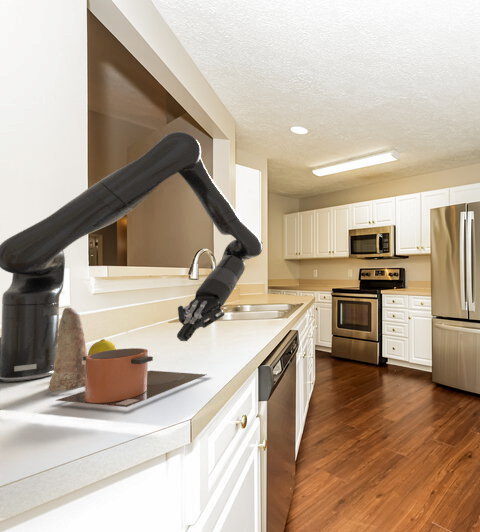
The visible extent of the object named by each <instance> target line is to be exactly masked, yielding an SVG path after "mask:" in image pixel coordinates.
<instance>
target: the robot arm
mask: <svg viewBox="0 0 480 532" xmlns="http://www.w3.org/2000/svg"><path fill="white" fill-rule="evenodd" d="M201 156H202V148H201V145H200V143H199V141H198V140H197V138H196V137H194V136H193V135H192V134H190V133H188V132H184V131H172V132H169V133H168V134H166V135H165V136H163V137H162V139H160V140H159V141H158V142H157V143H156V144H155V145H153V147H151V148H150V149H148V151H146V152H145V153H143V154H142V155H141V156H140V157H138V158H137V159H135V160H133V161H132V162H129V163H127V164H126V165H124V166H122V167H120V168H118V169H117V170H115V171H113V172H111V173H110V174H108V175H107V176H105V177H103V178H101V179H100V180H98V181H97V182H96V183H94V184H93V185H91V186H90V187H88V188H87V189H86V190H84V191H83V192H81V193H80V194H79V195H77V196H76V197H74V198H73V199H71V200H70V201H68V202H67V203H65V204H64V205H63V206H61V207H59V209H57V210H56V211H55V212H53V213H51V214H50V215H49V216H47V217H45V218H43V219H42V220H40V221H38V222H36V223H34V224H33V225H31V226H29V227H27V228H25V229H23V230H21V231H19V232H17V233H15V234H13V235H12V236H10V237H8V238H7V239H5V240H4V241H3V242H1V243H0V269H1V270H3V271H5V272H7V273H9V274H12V278H11V279H12V280H11V284H10V286H9V287H8V288H7V289H6V290H5V291H3V293H2V297H1V328H0V329H1V331H0V332H1V333H0V382H3V383H10V382H11V383H13V382H22V381H23V382H24V381H31V380H36V379H42V378H46V377H49V376H50V377H51V376H52V375H53V371H54V361H55V357H56V349H57V346H58V342H57V338H58V329H59V324H60V320H59V319H60V315H59V314H60V296H61V294H62V292H63V288H64V282H65V268H66V256H65V252H64V250H65V249H66V248H68V247H69V246H70V245H72V244H74V243H75V242H76V241H78V240H79V239H81V238H84V237H85V236H88V235H90V234H92V233H94V232H96V231H99V230H101V229H103V228H106V227H108V226H110V225H112V224H114V223H116V222H118V221H119V220H120V219H122V218H123V217H125V216H126V215H128V214H130V212H132V211H133V210H135V209H136V208H137V207H138V206H139V205H141V204H142V203H143V202H145V200H146V199H148V197H149V196H150V195H151V194H152V193H153V192H154V191H155V190H157V188H158V187H159V186H160V185H162V183H164V182H165V181H167V180H168V179H170V178H171V177H172V176H174V175H176V174H179V175H180V177H182V179H183V180H184V181H185V182H186V184H187V185H188V186H189V187H190V189H191V190H192V192H193V193H194V195H195V196H196V198H197V199H198V201H199V203H200V204H201V206H202V208H203V209H204V211H205V212H206V214H207V216H208V218H209V219H210V220H211V223H213V225H214V227H215V228H216V229H217V231H218V232H219V233H220V234H221V235H223V236H231V237H233V240H232V241H230V242H229V243H228V244H227V245H226V247H225V249H224V250H223V253H222V256H221V259H220V260H219V262H218V263H217V264H216V266H215V268H214V269H213V270H212V271H211V272H209V274H208V275H207V277H206V278H205V279H204V281H203V282H202V283H201V284H200V285H199V287H198V288H197V290H196V292H195V296H194V299H192V300H191V301H190V302H189V304H187V305H185V306H183V305H179V306H178V307H177V316H178V321H179V322H180V324H181V325H182V327H180V329H179V331H178V332H177V334H176V337H177V339H178V340H179V341H180V342H188V340H190V339H191V338H192V337H193V335H194V334H195V332H196V330H199V329H200V328H203V329H205V328H206V327H209V326H210V325H211V324H213V323H214V322H216V321H218V320H220V319H221V318H222V317H224V316H225V312H224V310H223V309H222V307H223V306H224V305H225V304H226V302H227V300H228V299H229V297H230V296H231V294H232V293H233V291H234V289H235V288H236V285H237V284H238V282H239V280H240V279H241V277H242V275H243V274H244V272H245V269H246V263H245V261H247V260H251V259H253V258H257V257H258V256H260V255H261V253H262V251H263V243H262V241H261V240H260V238H259V237H258V235H257V234H256V233H254V231H253V230H251V228H249V226H247V225H246V224H245V223H244V222H243V221H242V219H241V218H240V217H239V215H238V213H237V212H236V211H235V209H234V207H233V206H232V204H231V203H230V202H229V200H228V198H227V197H226V196H225V194H224V193H223V192H222V191H221V190H220V188H219V187H218V186H217V185H216V183H215V182H214V180H213V179H212V177H211V176H210V174H209V173H208V170H207V169H206V167H205V164H204V162H203V160H202V157H201Z"/></svg>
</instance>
